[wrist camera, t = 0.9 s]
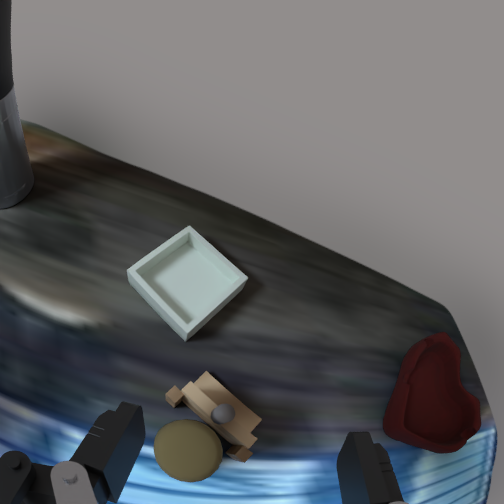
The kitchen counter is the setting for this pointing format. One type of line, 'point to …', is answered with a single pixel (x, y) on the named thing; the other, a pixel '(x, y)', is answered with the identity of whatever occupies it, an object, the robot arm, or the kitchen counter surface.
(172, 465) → the cork
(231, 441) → the bracket
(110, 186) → the kitchen counter surface
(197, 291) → the tray
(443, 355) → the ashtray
